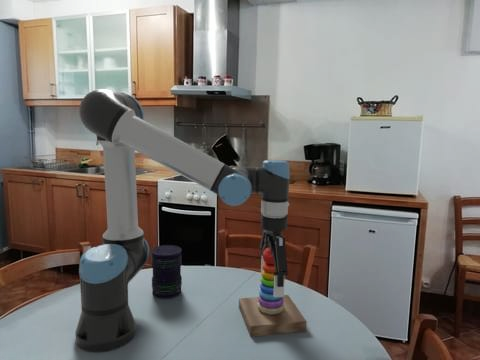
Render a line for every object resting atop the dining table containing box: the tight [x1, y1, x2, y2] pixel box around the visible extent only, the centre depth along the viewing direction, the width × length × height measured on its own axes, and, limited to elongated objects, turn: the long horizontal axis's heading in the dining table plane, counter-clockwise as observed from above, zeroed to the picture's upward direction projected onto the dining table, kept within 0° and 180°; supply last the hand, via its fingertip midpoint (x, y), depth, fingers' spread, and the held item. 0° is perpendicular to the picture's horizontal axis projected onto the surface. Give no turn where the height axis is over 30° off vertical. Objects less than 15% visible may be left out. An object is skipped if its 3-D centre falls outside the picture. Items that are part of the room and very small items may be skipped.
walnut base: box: [238, 294, 308, 337], centre depth 108 cm, size 16×16×3 cm
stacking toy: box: [257, 247, 284, 315], centre depth 107 cm, size 8×8×19 cm
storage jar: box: [151, 244, 183, 300], centre depth 123 cm, size 10×10×15 cm
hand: (271, 285), depth 107 cm, fingers open, 13 cm apart
